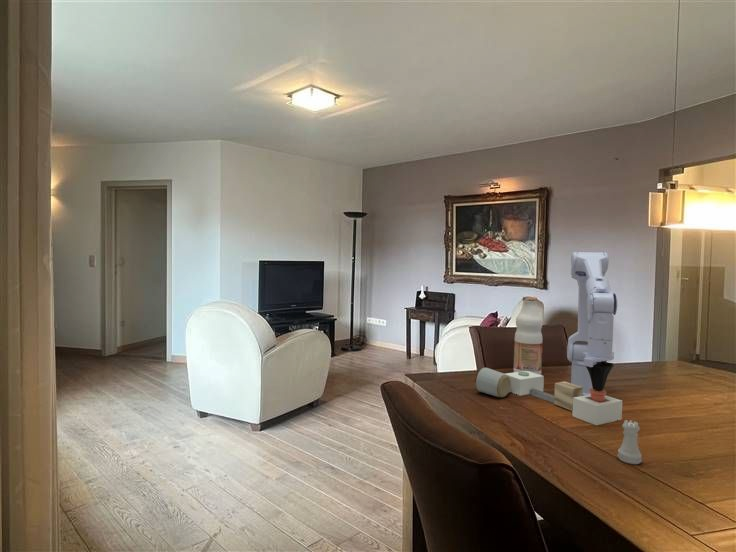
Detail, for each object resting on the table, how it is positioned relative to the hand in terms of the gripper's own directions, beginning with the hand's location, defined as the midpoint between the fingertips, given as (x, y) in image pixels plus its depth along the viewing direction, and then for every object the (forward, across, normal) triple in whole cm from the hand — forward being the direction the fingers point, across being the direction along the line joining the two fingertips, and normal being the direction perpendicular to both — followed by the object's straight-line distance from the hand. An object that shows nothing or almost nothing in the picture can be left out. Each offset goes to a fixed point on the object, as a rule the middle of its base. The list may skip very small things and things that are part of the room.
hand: (598, 389), depth 115 cm
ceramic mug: (+8, +3, -28) cm, 30 cm away
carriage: (+8, -2, -9) cm, 12 cm away
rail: (+8, -3, -12) cm, 15 cm away
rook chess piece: (+8, +20, +14) cm, 26 cm away
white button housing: (+8, 0, 0) cm, 8 cm away
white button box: (+8, -7, -25) cm, 27 cm away
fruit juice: (+8, -26, -34) cm, 43 cm away
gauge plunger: (+4, 0, 0) cm, 4 cm away
